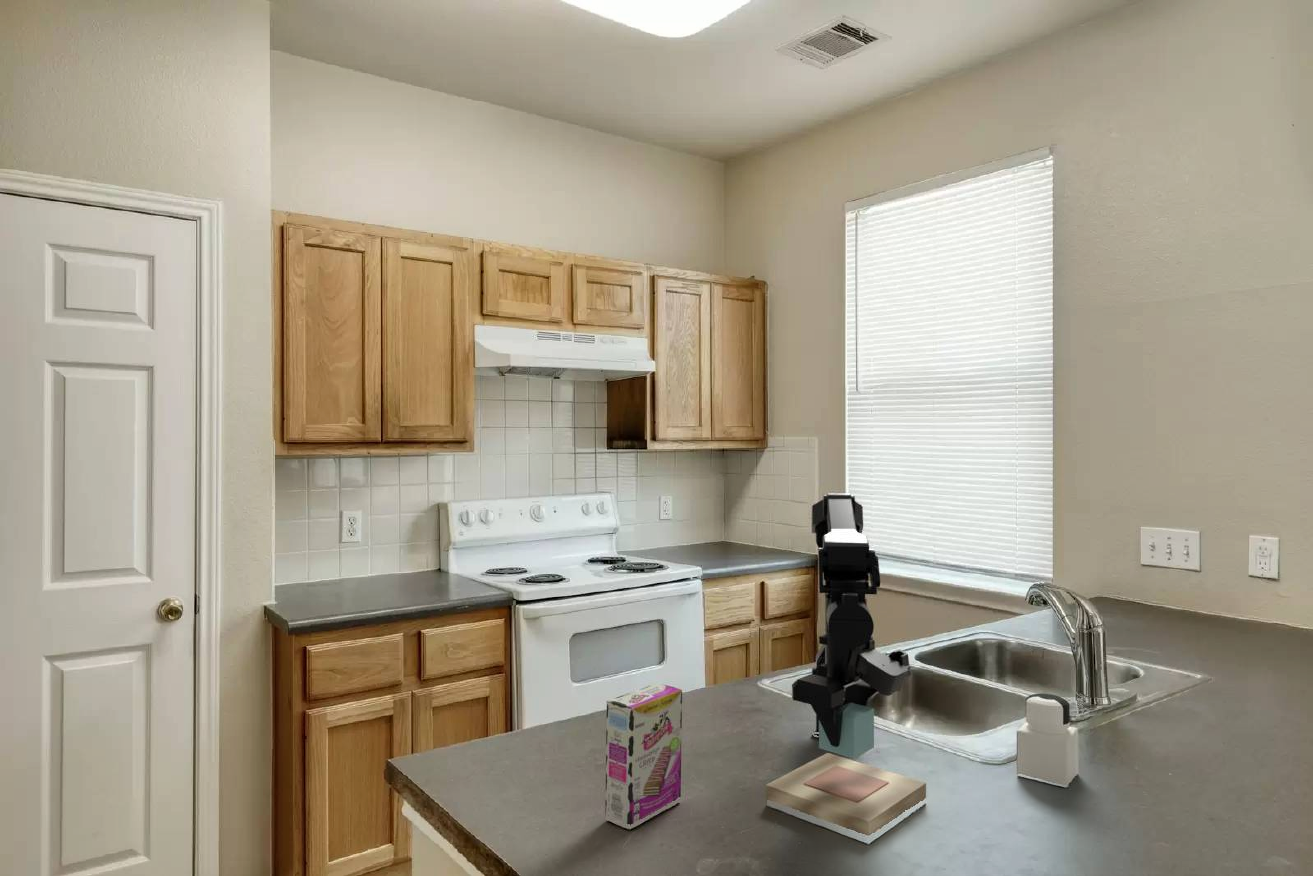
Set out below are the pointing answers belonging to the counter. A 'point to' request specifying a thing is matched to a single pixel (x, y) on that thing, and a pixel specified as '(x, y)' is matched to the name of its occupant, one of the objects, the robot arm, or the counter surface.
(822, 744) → the teal block
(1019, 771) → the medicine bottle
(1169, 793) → the counter surface
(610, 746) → the candy bar box
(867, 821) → the stack base
